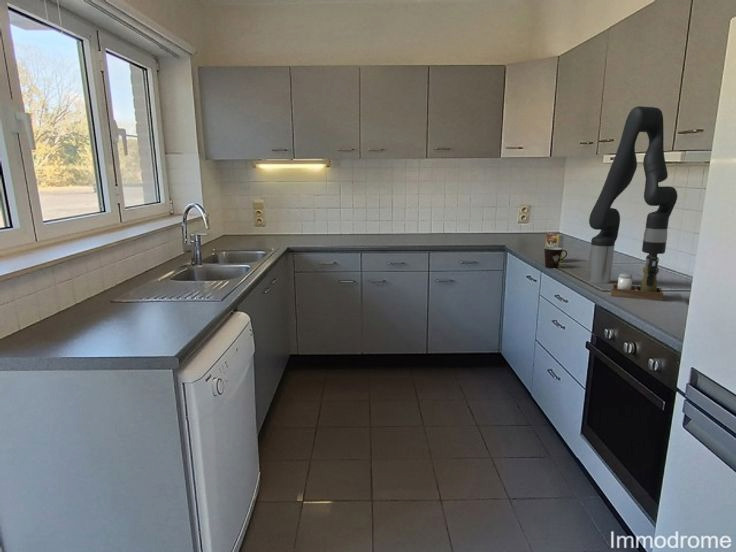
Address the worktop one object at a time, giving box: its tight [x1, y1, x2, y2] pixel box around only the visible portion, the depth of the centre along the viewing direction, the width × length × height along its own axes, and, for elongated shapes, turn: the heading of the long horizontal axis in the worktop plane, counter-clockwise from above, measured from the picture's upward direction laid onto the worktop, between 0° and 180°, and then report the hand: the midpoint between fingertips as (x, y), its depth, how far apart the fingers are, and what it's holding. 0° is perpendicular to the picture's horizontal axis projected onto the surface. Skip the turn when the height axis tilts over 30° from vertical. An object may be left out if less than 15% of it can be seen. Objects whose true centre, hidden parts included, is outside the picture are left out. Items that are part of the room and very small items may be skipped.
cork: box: [639, 266, 660, 292], centre depth 177 cm, size 6×6×11 cm
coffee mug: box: [543, 247, 568, 269], centre depth 238 cm, size 12×9×10 cm
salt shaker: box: [617, 272, 633, 290], centre depth 181 cm, size 5×5×8 cm
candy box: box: [544, 232, 565, 263], centre depth 253 cm, size 9×4×15 cm, turn 26°
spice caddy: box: [610, 283, 665, 302], centre depth 180 cm, size 9×17×4 cm, turn 64°
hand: (649, 283), depth 177 cm, fingers closed on cork, 4 cm apart
